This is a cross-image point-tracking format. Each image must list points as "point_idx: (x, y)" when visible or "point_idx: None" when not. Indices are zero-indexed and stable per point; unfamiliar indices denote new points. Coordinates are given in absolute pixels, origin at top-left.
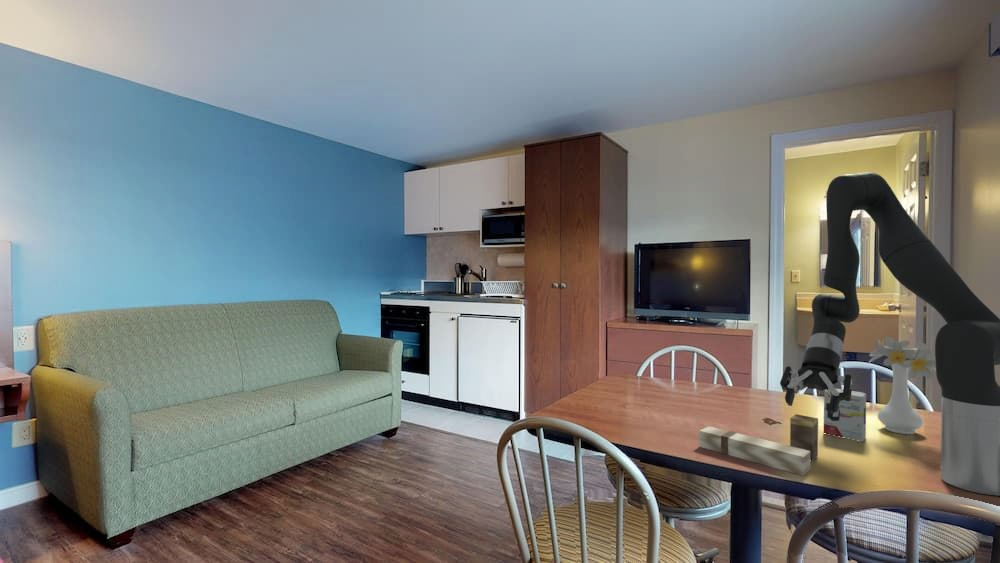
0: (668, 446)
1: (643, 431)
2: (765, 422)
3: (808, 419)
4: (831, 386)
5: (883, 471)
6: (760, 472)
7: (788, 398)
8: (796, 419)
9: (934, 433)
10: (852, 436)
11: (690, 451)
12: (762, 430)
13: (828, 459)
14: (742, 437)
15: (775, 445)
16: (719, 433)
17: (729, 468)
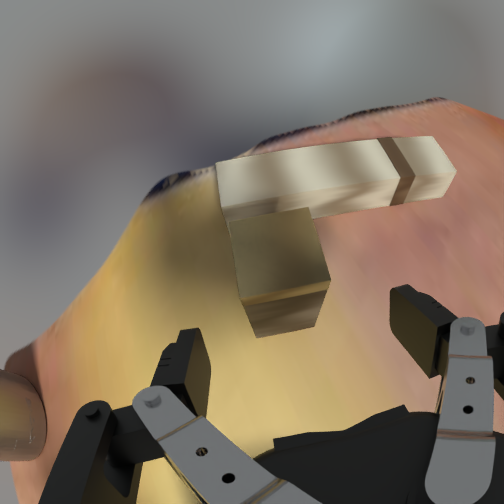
0: (432, 130)
1: (500, 156)
2: None
3: (257, 246)
4: (175, 430)
5: (117, 371)
6: (280, 147)
7: (408, 289)
8: (286, 211)
9: None
10: None
11: (404, 136)
12: None
13: (229, 345)
14: (369, 162)
15: (293, 173)
16: (407, 148)
17: (318, 125)
